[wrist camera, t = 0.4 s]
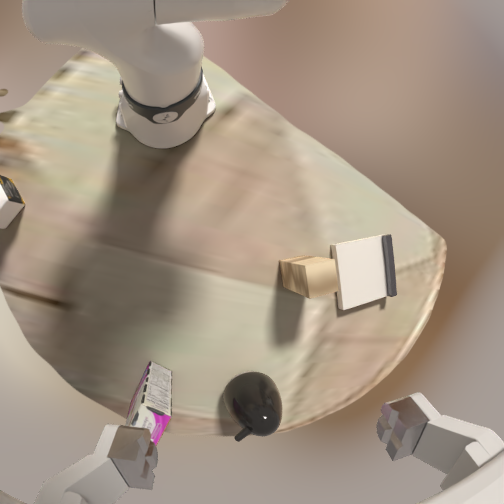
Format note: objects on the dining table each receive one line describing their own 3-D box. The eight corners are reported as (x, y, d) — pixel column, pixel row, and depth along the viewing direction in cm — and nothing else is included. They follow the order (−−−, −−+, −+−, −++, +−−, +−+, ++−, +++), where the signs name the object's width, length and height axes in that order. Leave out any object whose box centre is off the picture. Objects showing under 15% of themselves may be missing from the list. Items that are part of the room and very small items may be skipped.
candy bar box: (153, 412, 49) (147, 465, 33) (130, 402, 48) (117, 453, 32) (174, 370, 50) (173, 417, 34) (150, 359, 49) (139, 403, 33)
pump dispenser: (210, 379, 52) (220, 423, 37) (257, 355, 53) (283, 391, 39) (234, 415, 53) (251, 461, 38) (279, 392, 55) (307, 432, 40)
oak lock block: (279, 260, 54) (305, 265, 42) (303, 255, 55) (334, 259, 43) (283, 286, 54) (309, 298, 42) (307, 281, 55) (338, 291, 44)
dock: (330, 244, 56) (339, 245, 53) (381, 234, 59) (391, 234, 55) (338, 308, 57) (347, 311, 54) (386, 292, 60) (396, 295, 56)
